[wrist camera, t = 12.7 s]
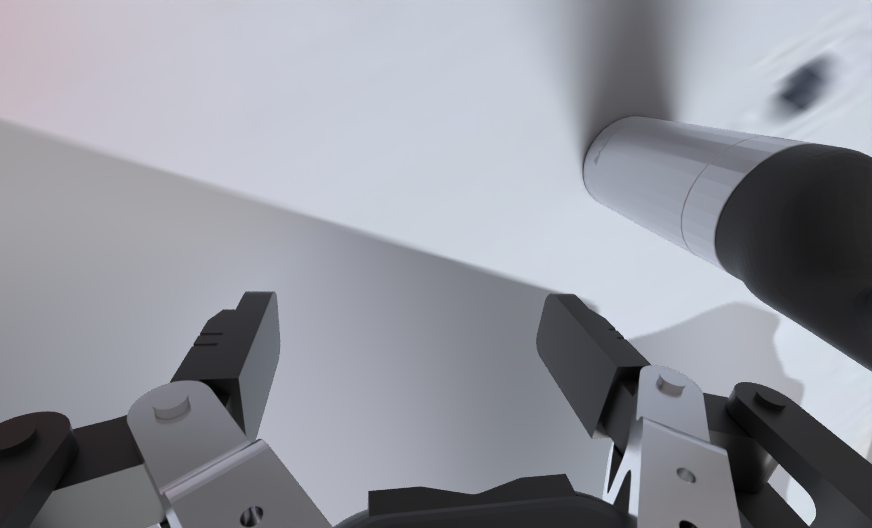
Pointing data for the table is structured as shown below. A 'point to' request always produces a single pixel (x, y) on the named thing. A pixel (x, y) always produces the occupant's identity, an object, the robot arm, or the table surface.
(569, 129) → the table surface
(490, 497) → the robot arm
